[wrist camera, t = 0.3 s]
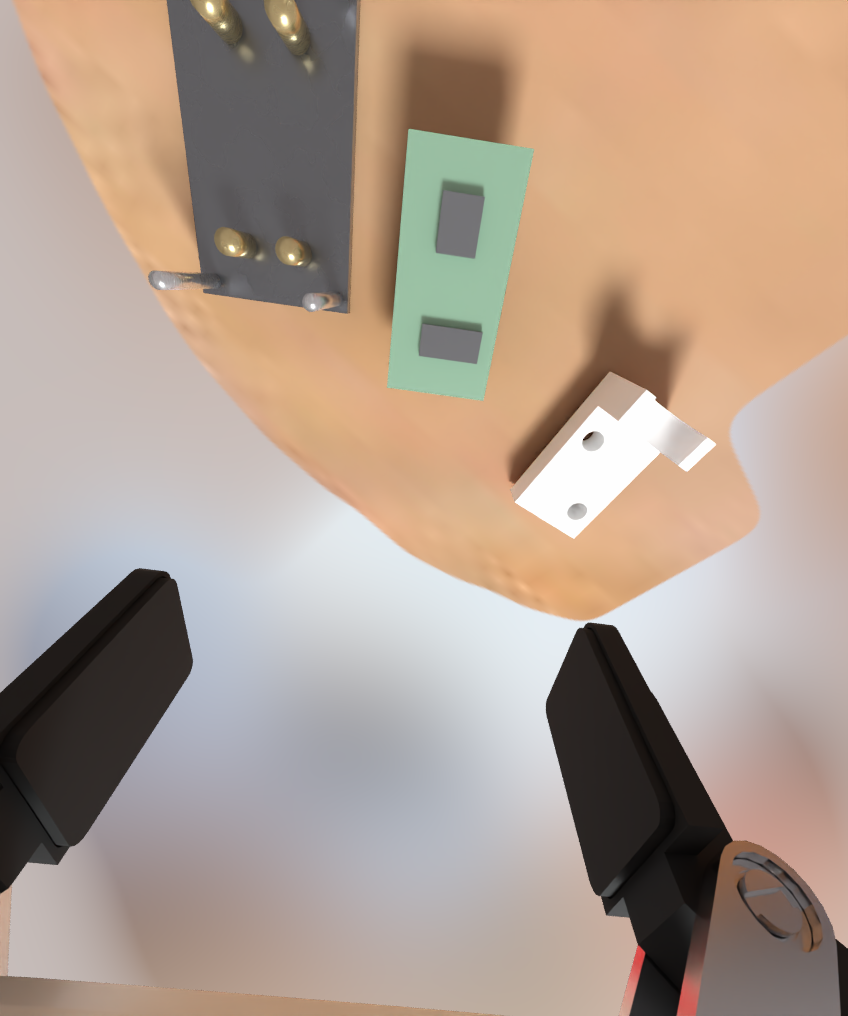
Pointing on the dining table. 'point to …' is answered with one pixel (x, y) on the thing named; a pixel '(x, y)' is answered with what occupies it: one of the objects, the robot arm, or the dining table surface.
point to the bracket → (604, 454)
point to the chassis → (269, 147)
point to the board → (453, 260)
